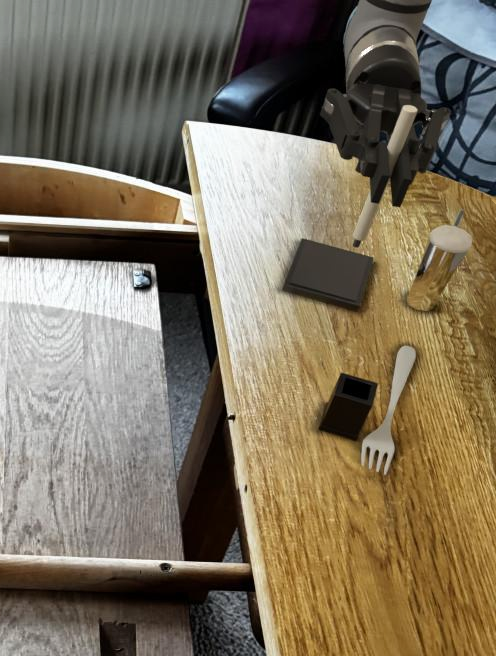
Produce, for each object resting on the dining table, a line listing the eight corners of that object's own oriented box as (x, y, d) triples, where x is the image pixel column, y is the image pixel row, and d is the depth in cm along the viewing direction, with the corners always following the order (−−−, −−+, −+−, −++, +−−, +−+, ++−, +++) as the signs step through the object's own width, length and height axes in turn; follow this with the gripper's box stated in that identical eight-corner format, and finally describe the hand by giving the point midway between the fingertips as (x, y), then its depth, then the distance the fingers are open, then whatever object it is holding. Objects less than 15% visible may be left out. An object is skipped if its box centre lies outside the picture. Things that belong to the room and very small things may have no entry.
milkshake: (443, 295, 111) (483, 215, 103) (435, 319, 108) (476, 238, 100) (405, 283, 112) (442, 203, 103) (397, 307, 109) (434, 226, 101)
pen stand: (362, 417, 96) (379, 382, 93) (356, 441, 94) (373, 406, 91) (324, 406, 97) (340, 371, 93) (318, 429, 95) (333, 394, 91)
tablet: (371, 263, 114) (374, 256, 113) (357, 311, 107) (360, 305, 107) (299, 243, 115) (302, 236, 114) (281, 290, 109) (284, 283, 108)
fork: (423, 351, 104) (429, 338, 102) (383, 488, 90) (390, 475, 89) (394, 342, 104) (401, 329, 103) (350, 477, 91) (357, 464, 90)
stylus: (363, 244, 99) (418, 106, 87) (361, 251, 98) (417, 113, 87) (350, 241, 99) (403, 103, 88) (348, 247, 98) (402, 109, 87)
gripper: (433, 128, 104) (449, 241, 91) (305, 106, 105) (302, 215, 91) (464, 55, 98) (486, 164, 84) (328, 33, 99) (329, 138, 85)
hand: (391, 191), depth 88 cm, fingers closed on stylus
